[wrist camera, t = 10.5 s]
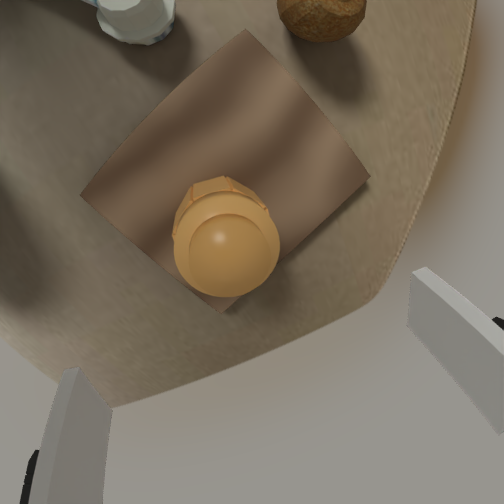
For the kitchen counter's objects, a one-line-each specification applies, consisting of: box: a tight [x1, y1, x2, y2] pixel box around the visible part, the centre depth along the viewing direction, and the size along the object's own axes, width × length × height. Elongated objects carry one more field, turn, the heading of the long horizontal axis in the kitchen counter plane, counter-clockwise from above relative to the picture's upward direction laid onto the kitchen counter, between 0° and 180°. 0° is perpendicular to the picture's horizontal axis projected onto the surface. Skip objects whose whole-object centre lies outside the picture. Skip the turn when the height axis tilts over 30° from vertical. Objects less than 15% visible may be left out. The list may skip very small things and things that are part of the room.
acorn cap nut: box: [172, 176, 280, 297], centre depth 21 cm, size 6×6×8 cm
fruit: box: [277, 0, 367, 42], centre depth 17 cm, size 6×6×8 cm
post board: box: [80, 29, 371, 314], centre depth 23 cm, size 16×18×6 cm
